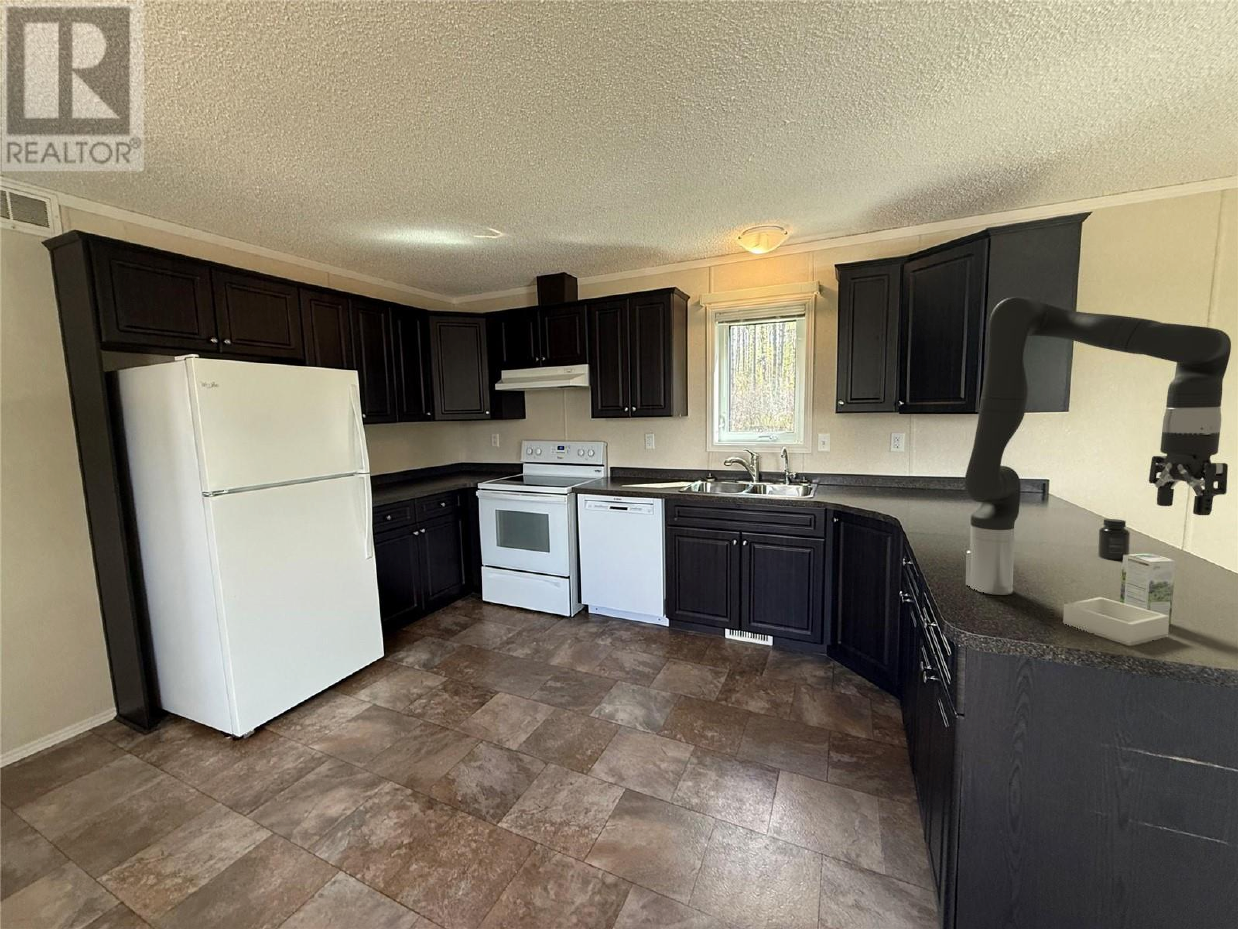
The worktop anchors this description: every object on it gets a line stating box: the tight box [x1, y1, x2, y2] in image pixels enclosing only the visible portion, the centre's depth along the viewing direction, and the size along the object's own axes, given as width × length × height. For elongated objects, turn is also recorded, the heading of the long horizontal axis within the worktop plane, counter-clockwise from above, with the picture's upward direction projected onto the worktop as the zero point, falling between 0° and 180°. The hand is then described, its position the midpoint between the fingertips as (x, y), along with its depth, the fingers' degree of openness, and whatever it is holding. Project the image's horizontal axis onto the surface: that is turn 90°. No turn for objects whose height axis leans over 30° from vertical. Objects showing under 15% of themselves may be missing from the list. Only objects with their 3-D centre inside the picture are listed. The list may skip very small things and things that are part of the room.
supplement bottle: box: [1097, 518, 1131, 561], centre depth 151 cm, size 7×7×12 cm
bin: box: [1062, 596, 1169, 647], centre depth 104 cm, size 12×12×4 cm
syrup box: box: [1119, 553, 1177, 624], centre depth 108 cm, size 6×6×14 cm
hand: (1182, 510), depth 98 cm, fingers open, 8 cm apart
